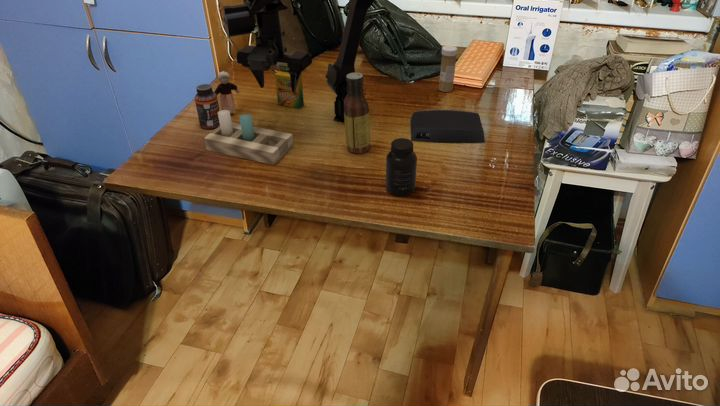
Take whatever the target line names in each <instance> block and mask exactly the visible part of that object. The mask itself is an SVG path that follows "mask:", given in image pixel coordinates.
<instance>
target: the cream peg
mask: <svg viewBox="0 0 720 406" xmlns="http://www.w3.org/2000/svg"><path fill="white" fill-rule="evenodd" d="M218 117H219V123H220V125H219V126H220V128H221V133H222V136H226V137H230V136H231V135H233V134H234V133H233V127H232V122H233V121H232V117H231V114H230V111H228V110H220V111H219V112H218Z"/></svg>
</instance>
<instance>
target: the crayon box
mask: <svg viewBox="0 0 720 406" xmlns="http://www.w3.org/2000/svg"><path fill="white" fill-rule="evenodd" d="M278 66H279V70H278V71H277V72H276V73H275V74H274V76H275V78H274V79H275V89H276V95H277V96H276V97H277V105H279V106H284V107H289V108H294V109H299V110H300V109H301V108H302V107H303V106H304V105H305V102H304V92H303V91H304V88H303V75H302V73H301V75H300V78H299V81H298V84H297V88H296V91H295V92H292V89H291V79H290V74H289V73H288V72H287V71H288V70H289V68H288V66H287V65H283V64H278Z"/></svg>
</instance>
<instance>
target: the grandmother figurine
mask: <svg viewBox="0 0 720 406" xmlns="http://www.w3.org/2000/svg"><path fill="white" fill-rule="evenodd" d="M230 79H231V76H230V74H229V73H228V72H226V71H224V70H222V71H220V72H218V74H217V80H218V81H219V82H220V83H219V84H218V85H217V87H216V88H215V90H214V92H215V93H216V95H217V96H218V95H219V97H220V101H219V102H220V109H221V110H228V111H230V115H235V114H237V111H236V110H235V100H234V95H233V94H234V93H233V92H232V91H235V92H236V94H240V93H241V91H240V90H239V88H238V85H236V84H234V83H233V82H229V81H230ZM221 110H220V111H221Z"/></svg>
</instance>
